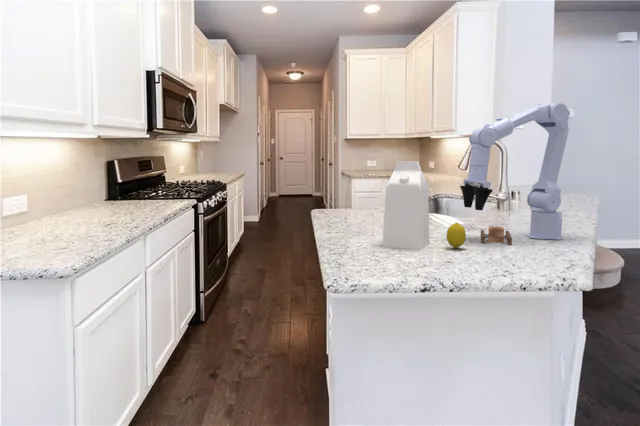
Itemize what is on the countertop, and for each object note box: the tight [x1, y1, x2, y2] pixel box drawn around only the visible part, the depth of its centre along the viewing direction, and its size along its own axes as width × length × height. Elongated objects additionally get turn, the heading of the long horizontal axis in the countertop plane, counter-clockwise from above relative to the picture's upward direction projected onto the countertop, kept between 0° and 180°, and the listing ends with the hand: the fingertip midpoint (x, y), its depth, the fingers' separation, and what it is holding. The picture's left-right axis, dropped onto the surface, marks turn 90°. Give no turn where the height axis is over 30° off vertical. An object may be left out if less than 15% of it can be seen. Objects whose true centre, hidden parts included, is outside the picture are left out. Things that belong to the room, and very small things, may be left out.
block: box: [487, 225, 505, 244], centre depth 156 cm, size 4×4×4 cm
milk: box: [381, 160, 430, 251], centre depth 149 cm, size 12×12×26 cm
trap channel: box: [480, 229, 513, 246], centre depth 159 cm, size 9×16×2 cm, turn 163°
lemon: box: [446, 222, 467, 250], centre depth 144 cm, size 6×6×8 cm
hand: (473, 208), depth 155 cm, fingers open, 7 cm apart
